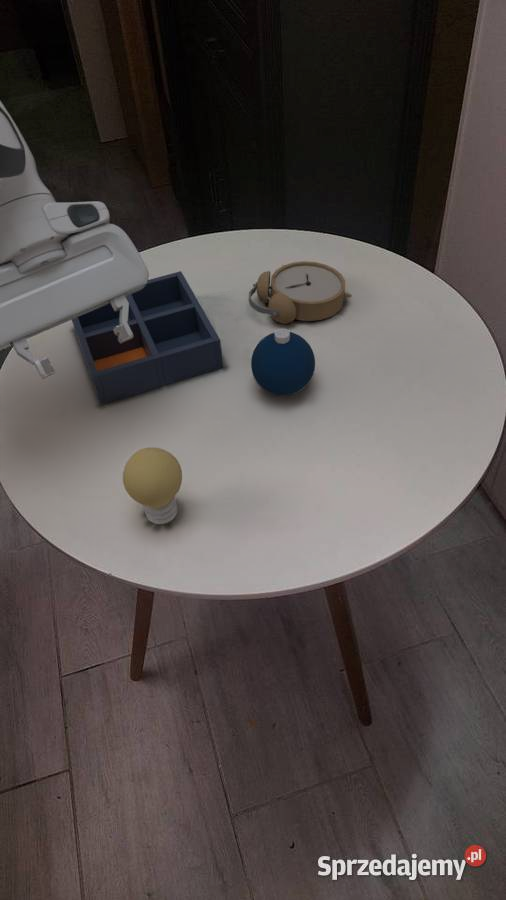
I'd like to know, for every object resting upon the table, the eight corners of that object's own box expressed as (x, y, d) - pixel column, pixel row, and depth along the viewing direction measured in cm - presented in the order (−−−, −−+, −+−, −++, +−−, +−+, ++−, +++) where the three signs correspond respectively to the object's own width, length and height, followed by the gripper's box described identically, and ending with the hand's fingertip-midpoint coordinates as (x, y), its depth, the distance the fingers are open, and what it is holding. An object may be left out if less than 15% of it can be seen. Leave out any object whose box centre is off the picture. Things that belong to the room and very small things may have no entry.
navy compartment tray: (100, 405, 92) (92, 377, 89) (74, 329, 104) (65, 302, 100) (223, 367, 96) (220, 339, 92) (185, 298, 107) (181, 270, 103)
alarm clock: (360, 294, 100) (267, 306, 95) (353, 322, 104) (263, 335, 99) (327, 255, 107) (238, 265, 102) (321, 283, 111) (235, 293, 106)
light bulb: (198, 499, 81) (187, 443, 73) (176, 542, 77) (162, 488, 70) (149, 486, 83) (134, 430, 75) (125, 528, 79) (107, 473, 71)
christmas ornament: (294, 358, 96) (293, 300, 89) (326, 393, 91) (328, 335, 84) (241, 380, 94) (236, 322, 87) (272, 417, 89) (269, 359, 82)
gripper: (-71, 268, 67) (-3, 396, 69) (117, 197, 73) (175, 316, 75) (-64, 284, 73) (-1, 400, 75) (109, 216, 79) (163, 326, 81)
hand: (88, 357), depth 75 cm, fingers open, 8 cm apart
